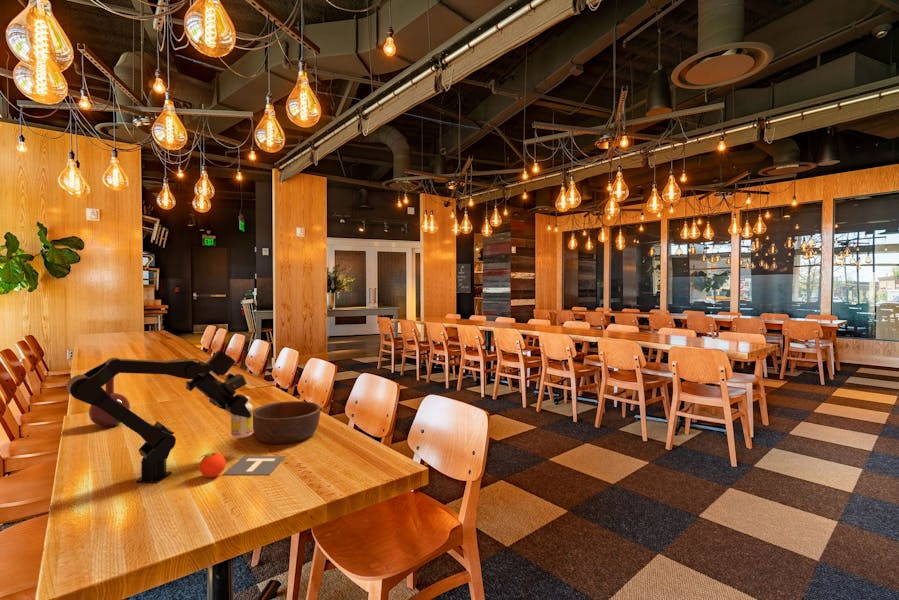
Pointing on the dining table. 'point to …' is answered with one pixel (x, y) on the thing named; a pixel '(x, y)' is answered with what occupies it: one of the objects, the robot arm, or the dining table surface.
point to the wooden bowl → (286, 421)
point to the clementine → (212, 464)
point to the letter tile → (255, 465)
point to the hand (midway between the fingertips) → (246, 414)
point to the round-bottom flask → (101, 416)
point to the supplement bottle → (242, 423)
